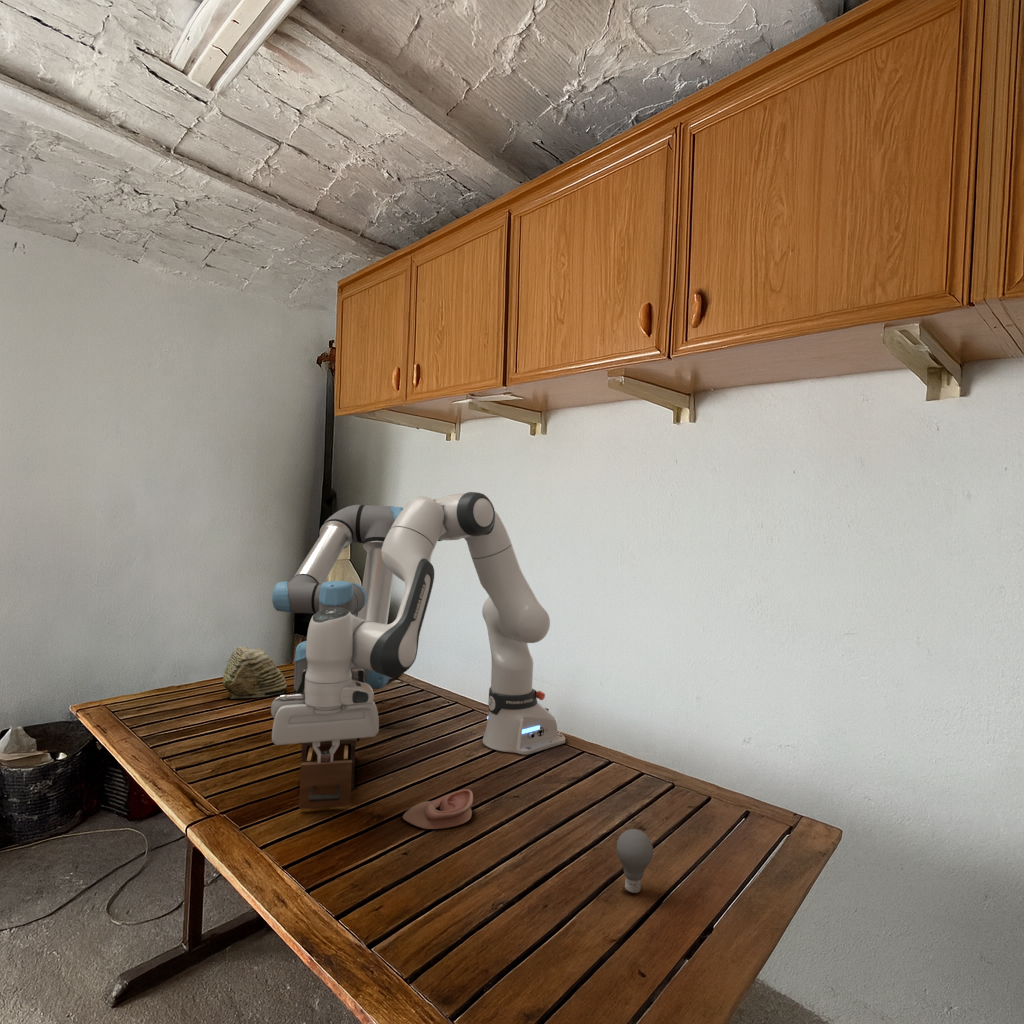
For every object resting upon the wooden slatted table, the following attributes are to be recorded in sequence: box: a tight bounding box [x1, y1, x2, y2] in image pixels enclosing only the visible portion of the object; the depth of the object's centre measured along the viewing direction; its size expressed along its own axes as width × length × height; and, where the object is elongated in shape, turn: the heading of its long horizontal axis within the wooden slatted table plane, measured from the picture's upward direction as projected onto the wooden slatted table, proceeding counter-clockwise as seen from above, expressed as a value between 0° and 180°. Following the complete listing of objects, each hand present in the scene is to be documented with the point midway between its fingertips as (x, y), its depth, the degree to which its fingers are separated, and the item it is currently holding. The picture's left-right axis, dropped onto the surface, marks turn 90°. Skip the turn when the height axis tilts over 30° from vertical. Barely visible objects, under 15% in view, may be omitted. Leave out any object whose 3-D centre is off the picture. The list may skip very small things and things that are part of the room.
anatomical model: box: [402, 788, 474, 830], centre depth 128 cm, size 13×4×12 cm
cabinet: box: [300, 738, 357, 790], centre depth 145 cm, size 16×11×11 cm
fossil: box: [222, 646, 288, 699], centre depth 198 cm, size 9×18×15 cm, turn 132°
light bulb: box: [615, 828, 654, 894], centre depth 106 cm, size 6×6×10 cm
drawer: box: [298, 744, 352, 810], centre depth 132 cm, size 20×10×9 cm, turn 13°
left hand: (330, 740), depth 148 cm, fingers open, 12 cm apart
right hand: (325, 761), depth 125 cm, fingers closed
